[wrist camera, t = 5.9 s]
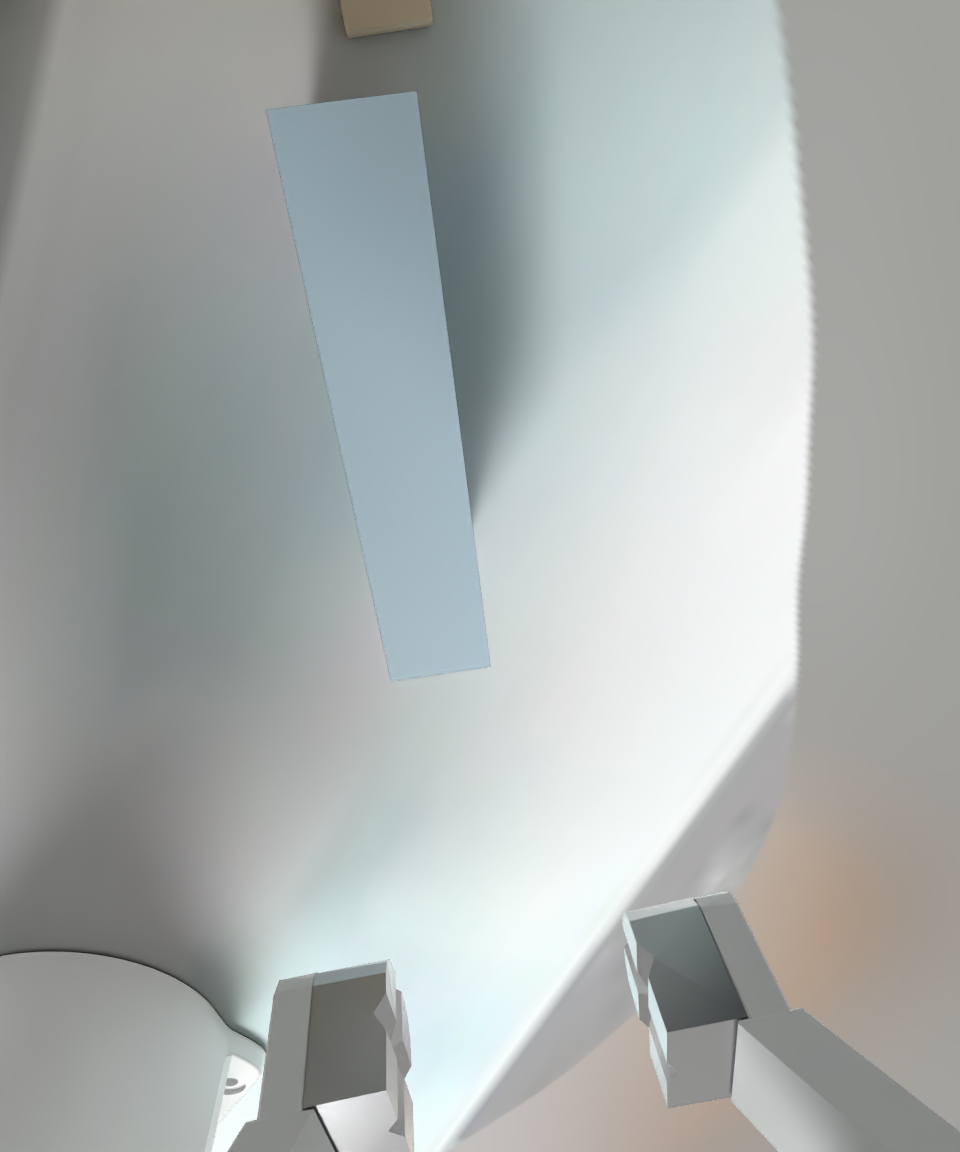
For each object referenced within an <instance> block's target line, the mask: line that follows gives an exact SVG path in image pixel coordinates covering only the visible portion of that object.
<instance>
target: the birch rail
mask: <svg viewBox="0 0 960 1152" xmlns="http://www.w3.org/2000/svg"><path fill="white" fill-rule="evenodd" d="M340 5H341V10H342V15H343V21H344V26H345V32H346V34H347V37H348V39H350V38H357V37H363V36H369V35H376V34H382V33H389V32H395V31H402V30H408V29H415V28H421V27H428V26H431V25H432V21H433V14H432V7H431V0H340Z"/></svg>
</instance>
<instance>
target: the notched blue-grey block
mask: <svg viewBox="0 0 960 1152" xmlns="http://www.w3.org/2000/svg"><path fill="white" fill-rule="evenodd" d="M266 113H267V118H268V122H269V127H270V131H271V136H272V140H273V145H274V150H275V154H276V159H277V163H278V168H279V172H280V177H281V181H282V186H283V191H284V195H285V200H286V204H287V209H288V213H289V218H290V222H291V227H292V232H293V236H294V241H295V245H296V250H297V254H298V259H299V264H300V268H301V273H302V277H303V282H304V286H305V291H306V295H307V300H308V305H309V309H310V314H311V318H312V323H313V327H314V332H315V336H316V341H317V346H318V350H319V355H320V359H321V364H322V368H323V373H324V377H325V382H326V387H327V391H328V396H329V400H330V405H331V409H332V414H333V419H334V423H335V428H336V432H337V437H338V441H339V446H340V450H341V455H342V460H343V464H344V469H345V473H346V478H347V482H348V487H349V491H350V496H351V501H352V505H353V510H354V514H355V519H356V523H357V528H358V532H359V537H360V542H361V546H362V551H363V555H364V560H365V564H366V569H367V574H368V578H369V583H370V587H371V592H372V596H373V601H374V605H375V610H376V615H377V619H378V624H379V628H380V633H381V637H382V642H383V646H384V651H385V656H386V660H387V665H388V669H389V674H390V678H391V682H394V681H400V680H407V679H413V678H420V677H427V676H433V675H440V674H446V673H453V672H459V671H466V670H472V669H479V668H486V667H491V666H490V658H489V650H488V642H487V634H486V627H485V619H484V611H483V603H482V596H481V588H480V580H479V572H478V565H477V557H476V549H475V541H474V533H473V526H472V518H471V510H470V502H469V495H468V487H467V479H466V471H465V464H464V456H463V448H462V440H461V432H460V425H459V417H458V409H457V401H456V394H455V386H454V378H453V370H452V363H451V355H450V347H449V339H448V331H447V324H446V316H445V308H444V300H443V293H442V285H441V277H440V269H439V261H438V254H437V246H436V238H435V230H434V223H433V215H432V207H431V199H430V192H429V184H428V176H427V168H426V160H425V153H424V145H423V137H422V129H421V122H420V114H419V106H418V98H417V91H412V92H404V93H396V94H388V95H380V96H372V97H364V98H356V99H348V100H340V101H332V102H324V103H316V104H308V105H300V106H292V107H284V108H276V109H268V110H266Z"/></svg>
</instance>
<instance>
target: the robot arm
mask: <svg viewBox="0 0 960 1152" xmlns="http://www.w3.org/2000/svg"><path fill="white" fill-rule="evenodd" d="M623 929H624V932H625V935H626V939H627V942H628V943H627V944H626V946H625V947H624V952H625V963H626V968H627V974H628V979H629V984H630V988H631V991H632V995H633V999H634V1002H635V1006H636V1009H637V1012H638V1016H639V1019H640V1020H641V1021H643V1023H645V1024H646V1025H647V1026H648V1027H649V1035H650V1036H649V1038H650V1055H651V1058H652V1061H653V1064H654V1067H655V1071H656V1074H657V1077H658V1080H659V1083H660V1086H661V1089H662V1093H663V1096H664V1099H665V1102H666V1105H667V1108H673V1107H678V1106H684V1105H689V1104H695V1103H700V1102H706V1101H712V1100H717V1099H723V1098H729V1097H732V1098H731V1101H732V1102H733V1103H734V1104H735V1106H736V1107H737V1108H738V1109H739V1110H740V1111H741V1112H742V1113H743V1114H744V1115H745V1116H746V1117H747V1118H748V1119H749V1120H750V1122H751V1123H752V1124H754V1126H755V1127H756V1128H757V1129H758V1130H759V1131H760V1132H761V1133H762V1134H763V1135H764V1136H765V1137H766V1139H768V1141H769V1142H770V1143H771V1144H772V1145H773V1146H774V1147H775V1148H776V1149H777V1150H778V1151H779V1152H960V1132H959V1131H958V1130H957V1129H956V1128H954V1127H953V1126H952V1125H951V1124H949V1123H948V1122H947V1121H945V1120H944V1119H943V1118H942V1117H940V1116H939V1115H938V1114H937V1113H935V1112H934V1111H933V1110H931V1109H930V1108H929V1107H928V1106H926V1105H925V1104H924V1103H923V1102H921V1101H920V1100H919V1099H917V1098H916V1097H915V1096H914V1095H912V1094H911V1093H910V1092H908V1091H907V1090H906V1089H905V1088H903V1087H902V1086H901V1085H900V1084H898V1083H897V1082H896V1081H894V1080H893V1079H892V1078H891V1077H889V1076H888V1075H887V1074H886V1073H884V1072H883V1071H882V1070H881V1069H879V1068H878V1067H877V1066H875V1065H874V1064H873V1063H872V1062H870V1061H869V1060H867V1058H865V1057H864V1056H863V1055H861V1054H860V1053H859V1052H858V1051H856V1050H855V1049H854V1048H853V1047H851V1046H850V1045H849V1044H847V1043H846V1042H845V1041H844V1040H842V1039H841V1038H840V1037H839V1036H837V1035H836V1034H835V1033H833V1032H832V1031H831V1030H830V1029H828V1028H827V1027H826V1026H825V1025H823V1024H822V1023H821V1022H819V1021H818V1020H817V1019H815V1018H814V1017H813V1016H812V1015H811V1014H809V1013H808V1012H807V1011H805V1010H804V1009H803V1008H799V1009H792V1010H791V1008H790V1006H789V1004H788V1003H787V1000H786V998H785V996H784V994H783V992H782V990H781V988H780V986H779V984H778V983H777V980H776V978H775V976H774V974H773V972H772V970H771V968H770V966H769V964H768V962H767V961H766V959H765V956H764V954H763V952H762V950H761V948H760V946H759V944H758V942H757V940H756V939H755V936H754V934H753V932H752V930H751V928H750V926H749V924H748V922H747V921H746V918H745V916H744V914H743V912H742V910H741V908H740V906H739V904H738V902H737V900H736V899H735V898H734V897H733V896H732V895H731V894H730V893H729V892H727V891H724V892H719V893H714V894H710V895H705V896H700V897H696V898H686V899H682V900H677V901H673V902H668V903H664V904H659V905H654V906H650V907H645V908H641V909H636V910H632V911H627V912H624V914H623ZM264 1061H265V1065H264ZM263 1065H264V1072H263V1080H262V1087H261V1095H260V1102H259V1110H258V1117H257V1120H254V1121H250V1122H246V1123H245V1124H244V1126H243V1128H242V1129H241V1131H240V1132H239V1134H238V1136H237V1137H236V1139H235V1140H234V1142H233V1144H232V1145H231V1147H230V1148H229V1150H228V1152H414V1134H413V1103H412V1100H411V1097H410V1094H409V1091H408V1088H407V1085H406V1082H405V1079H404V1078H405V1077H406V1075H407V1073H408V1071H409V1069H410V1067H411V1049H410V1035H409V1026H408V1017H407V1012H406V1007H405V1002H404V999H403V996H402V993H401V991H399V990H397V989H396V988H395V971H394V969H393V966H392V963H391V961H390V959H388V960H383V961H378V962H373V963H368V964H363V965H358V966H353V967H347V968H342V969H337V970H332V971H327V972H322V973H313V974H308V975H303V976H298V977H294V978H289V979H284V980H279V982H278V985H277V988H276V991H275V993H274V997H273V1004H272V1012H271V1019H270V1027H269V1034H268V1042H267V1050H266V1053H265V1051H264V1049H263V1048H262V1047H261V1046H259V1045H258V1044H257V1043H255V1042H253V1041H252V1040H250V1039H248V1038H246V1037H244V1036H243V1035H241V1034H239V1033H237V1032H235V1031H233V1030H231V1029H230V1028H229V1027H228V1026H227V1025H226V1024H225V1023H224V1022H223V1021H222V1019H221V1018H220V1017H219V1015H218V1014H217V1012H216V1011H215V1010H214V1008H213V1007H212V1006H211V1005H210V1004H209V1002H208V1001H206V1000H205V999H204V998H203V997H202V996H201V995H200V994H199V993H197V992H196V991H195V990H193V989H192V988H190V987H189V986H187V985H186V984H184V983H182V982H181V981H179V980H177V979H175V978H173V977H171V976H169V975H167V974H165V973H162V972H160V971H158V970H155V969H152V968H150V967H147V966H144V965H141V964H137V963H134V962H130V961H126V960H122V959H118V958H113V957H107V956H101V955H95V954H86V953H75V952H29V953H18V954H11V955H4V956H0V1152H211V1151H212V1147H213V1142H214V1137H215V1133H216V1128H217V1126H218V1125H219V1123H220V1122H221V1121H222V1120H223V1119H224V1118H225V1117H226V1116H227V1114H228V1113H229V1112H230V1111H231V1110H232V1109H233V1108H234V1106H235V1105H236V1104H237V1103H238V1102H239V1101H240V1100H241V1098H242V1097H243V1096H244V1095H245V1094H246V1093H247V1092H248V1091H249V1089H250V1088H251V1087H252V1086H253V1085H254V1084H255V1083H256V1081H257V1080H258V1079H259V1078H260V1076H261V1073H262V1069H263Z"/></svg>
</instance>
